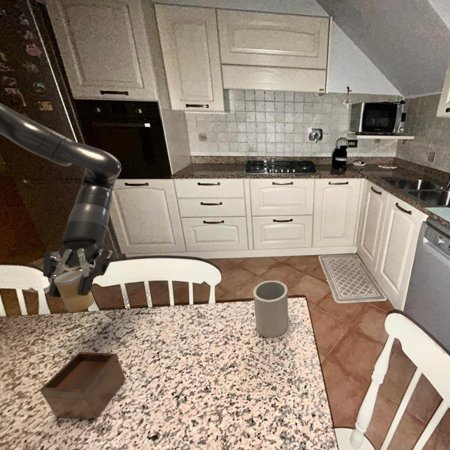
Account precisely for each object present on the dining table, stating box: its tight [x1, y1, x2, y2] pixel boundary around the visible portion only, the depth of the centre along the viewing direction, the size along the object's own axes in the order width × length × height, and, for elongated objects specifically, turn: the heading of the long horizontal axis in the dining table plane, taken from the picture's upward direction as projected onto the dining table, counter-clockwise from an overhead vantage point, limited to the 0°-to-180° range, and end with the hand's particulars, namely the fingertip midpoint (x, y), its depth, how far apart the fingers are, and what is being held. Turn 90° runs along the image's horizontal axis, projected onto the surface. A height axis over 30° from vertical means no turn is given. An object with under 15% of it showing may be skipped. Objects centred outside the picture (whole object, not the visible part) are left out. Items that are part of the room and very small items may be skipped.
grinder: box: [54, 269, 95, 313], centre depth 55 cm, size 5×5×8 cm
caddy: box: [39, 351, 127, 420], centre depth 50 cm, size 8×8×8 cm
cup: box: [252, 280, 289, 338], centre depth 68 cm, size 9×9×12 cm
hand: (68, 295), depth 54 cm, fingers closed on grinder, 5 cm apart
